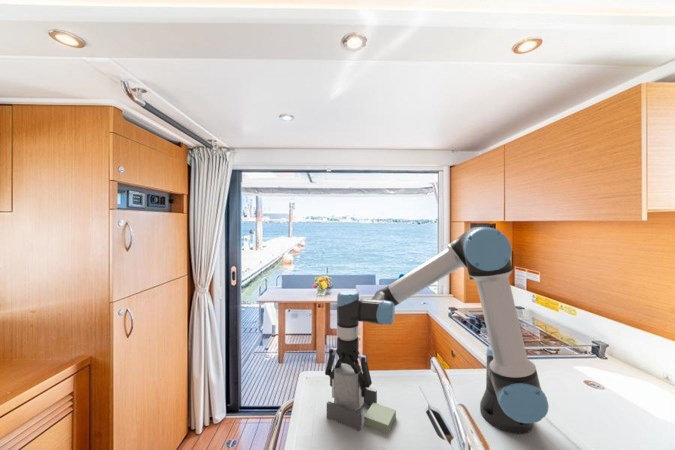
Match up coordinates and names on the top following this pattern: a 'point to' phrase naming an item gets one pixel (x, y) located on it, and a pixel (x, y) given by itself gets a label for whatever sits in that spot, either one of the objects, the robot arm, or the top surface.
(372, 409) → the block
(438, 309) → the top surface
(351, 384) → the grey cylindrical piece
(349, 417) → the parallel grey rails
